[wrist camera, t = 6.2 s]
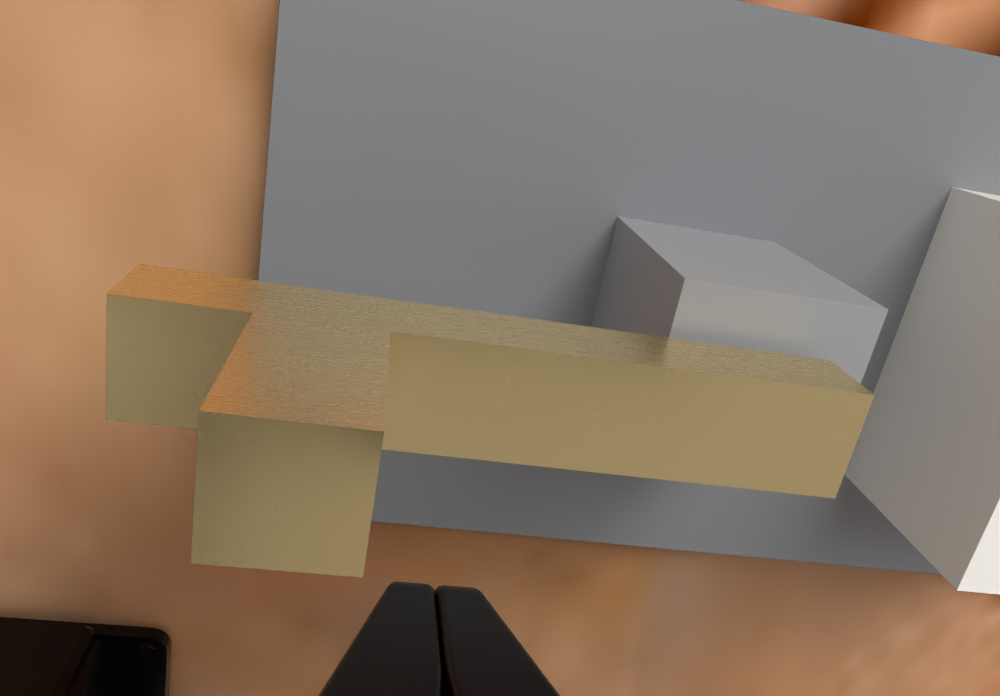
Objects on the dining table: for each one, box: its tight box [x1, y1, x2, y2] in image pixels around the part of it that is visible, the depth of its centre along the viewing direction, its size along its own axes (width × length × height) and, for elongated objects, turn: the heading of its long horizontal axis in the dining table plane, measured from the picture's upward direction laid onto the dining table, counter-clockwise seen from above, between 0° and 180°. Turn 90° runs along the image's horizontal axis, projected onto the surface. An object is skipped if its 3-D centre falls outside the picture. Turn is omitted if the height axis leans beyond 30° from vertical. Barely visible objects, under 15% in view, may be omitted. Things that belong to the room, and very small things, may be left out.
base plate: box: [258, 0, 1000, 575], centre depth 18 cm, size 14×24×6 cm, turn 80°
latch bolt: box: [106, 264, 875, 578], centre depth 12 cm, size 2×12×5 cm, turn 79°
